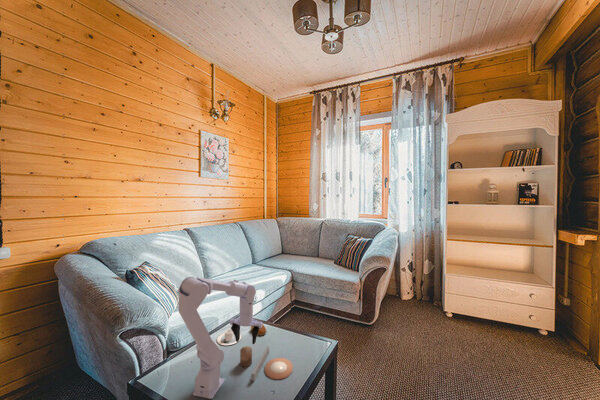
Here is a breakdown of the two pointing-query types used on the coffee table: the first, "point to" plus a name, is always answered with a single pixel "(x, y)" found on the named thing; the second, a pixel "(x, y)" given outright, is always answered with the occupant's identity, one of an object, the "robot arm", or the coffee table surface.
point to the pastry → (261, 330)
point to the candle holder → (227, 337)
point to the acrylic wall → (260, 363)
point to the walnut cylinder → (246, 356)
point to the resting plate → (278, 368)
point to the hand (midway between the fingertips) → (245, 341)
